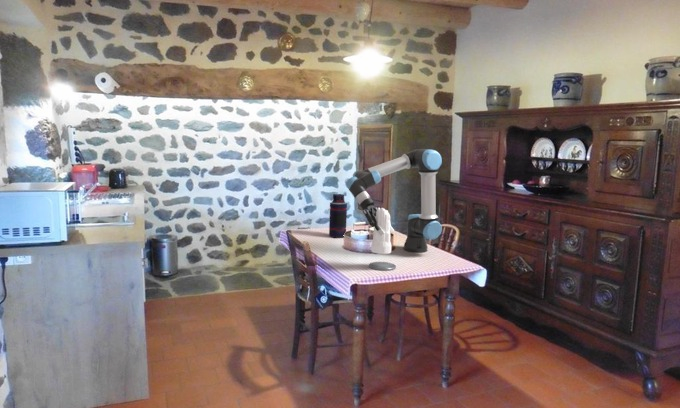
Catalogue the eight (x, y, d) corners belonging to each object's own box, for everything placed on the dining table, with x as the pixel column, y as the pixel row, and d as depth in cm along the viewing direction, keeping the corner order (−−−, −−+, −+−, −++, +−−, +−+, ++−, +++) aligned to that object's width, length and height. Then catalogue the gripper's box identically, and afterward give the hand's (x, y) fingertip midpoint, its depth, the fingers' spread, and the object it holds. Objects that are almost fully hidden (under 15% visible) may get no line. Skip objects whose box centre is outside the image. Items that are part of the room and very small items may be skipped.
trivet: (378, 261, 280) (378, 260, 280) (400, 266, 271) (400, 265, 271) (363, 266, 268) (363, 265, 268) (386, 272, 259) (386, 270, 259)
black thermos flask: (348, 237, 339) (350, 195, 335) (332, 238, 335) (334, 195, 330) (340, 233, 352) (342, 192, 348) (325, 234, 347) (326, 193, 343)
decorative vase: (379, 248, 275) (382, 204, 272) (394, 252, 268) (397, 207, 265) (367, 251, 268) (369, 206, 264) (382, 254, 260) (385, 208, 257)
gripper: (371, 203, 282) (393, 234, 275) (349, 207, 265) (372, 240, 258) (379, 195, 278) (402, 226, 271) (357, 198, 261) (381, 232, 254)
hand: (387, 233), depth 264 cm, fingers closed on decorative vase, 9 cm apart
